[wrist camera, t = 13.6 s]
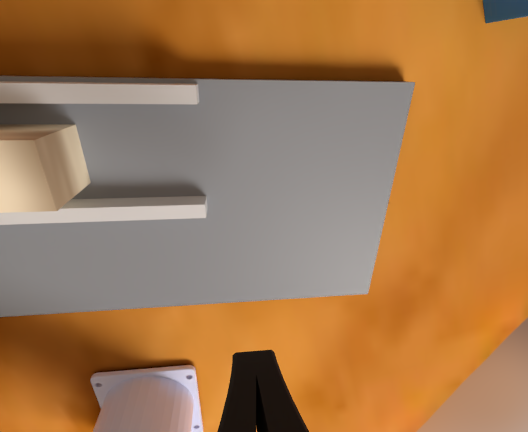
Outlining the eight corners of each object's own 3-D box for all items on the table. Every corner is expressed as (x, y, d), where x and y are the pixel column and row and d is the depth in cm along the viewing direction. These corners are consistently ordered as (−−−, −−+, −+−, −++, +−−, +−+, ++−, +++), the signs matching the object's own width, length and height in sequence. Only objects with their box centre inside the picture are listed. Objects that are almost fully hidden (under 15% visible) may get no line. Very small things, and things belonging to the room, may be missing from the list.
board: (362, 284, 22) (404, 352, 17) (-81, 311, 19) (-198, 404, 14) (404, 81, 16) (491, 88, 11) (-241, 72, 13) (-564, 75, 8)
